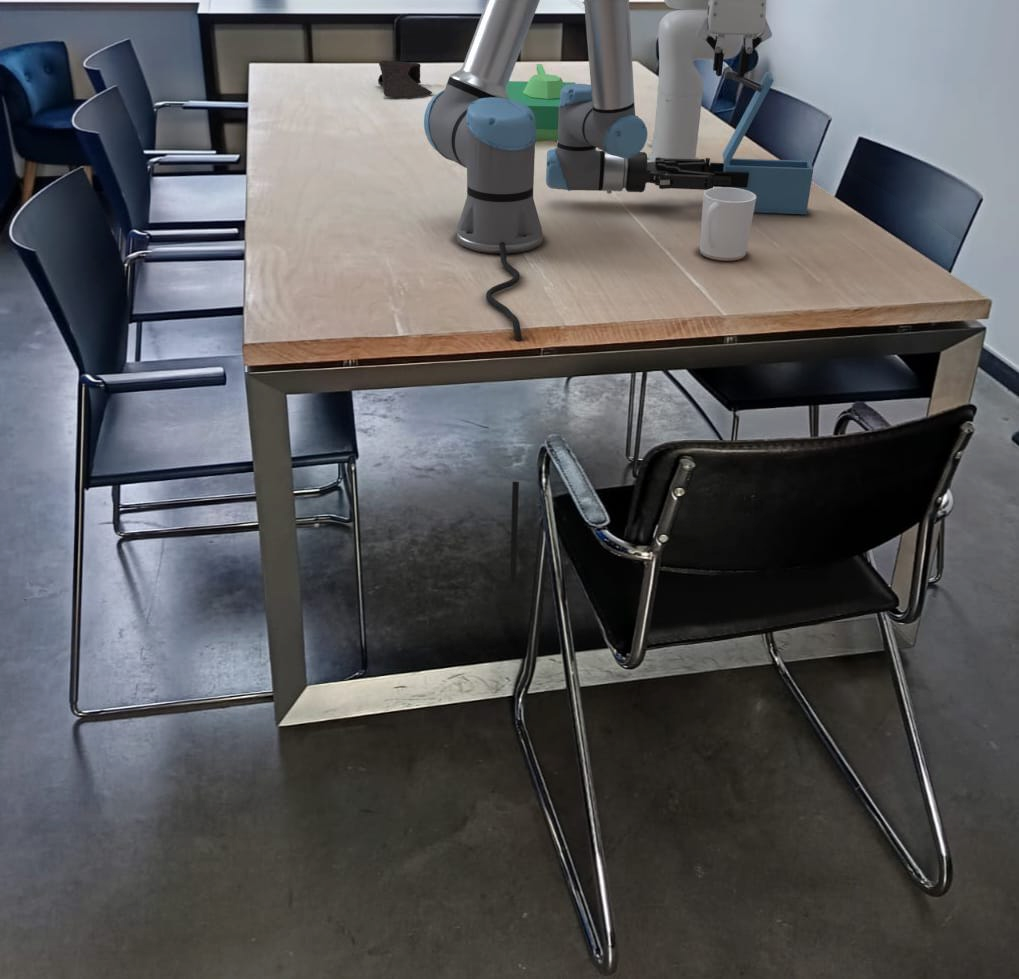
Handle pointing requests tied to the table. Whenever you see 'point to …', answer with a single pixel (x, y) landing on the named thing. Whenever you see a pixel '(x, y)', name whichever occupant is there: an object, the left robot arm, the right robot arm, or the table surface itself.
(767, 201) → the chest
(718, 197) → the mug
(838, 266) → the table surface
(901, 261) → the table surface
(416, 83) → the axe head
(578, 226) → the table surface
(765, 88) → the lid
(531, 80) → the toy tank
